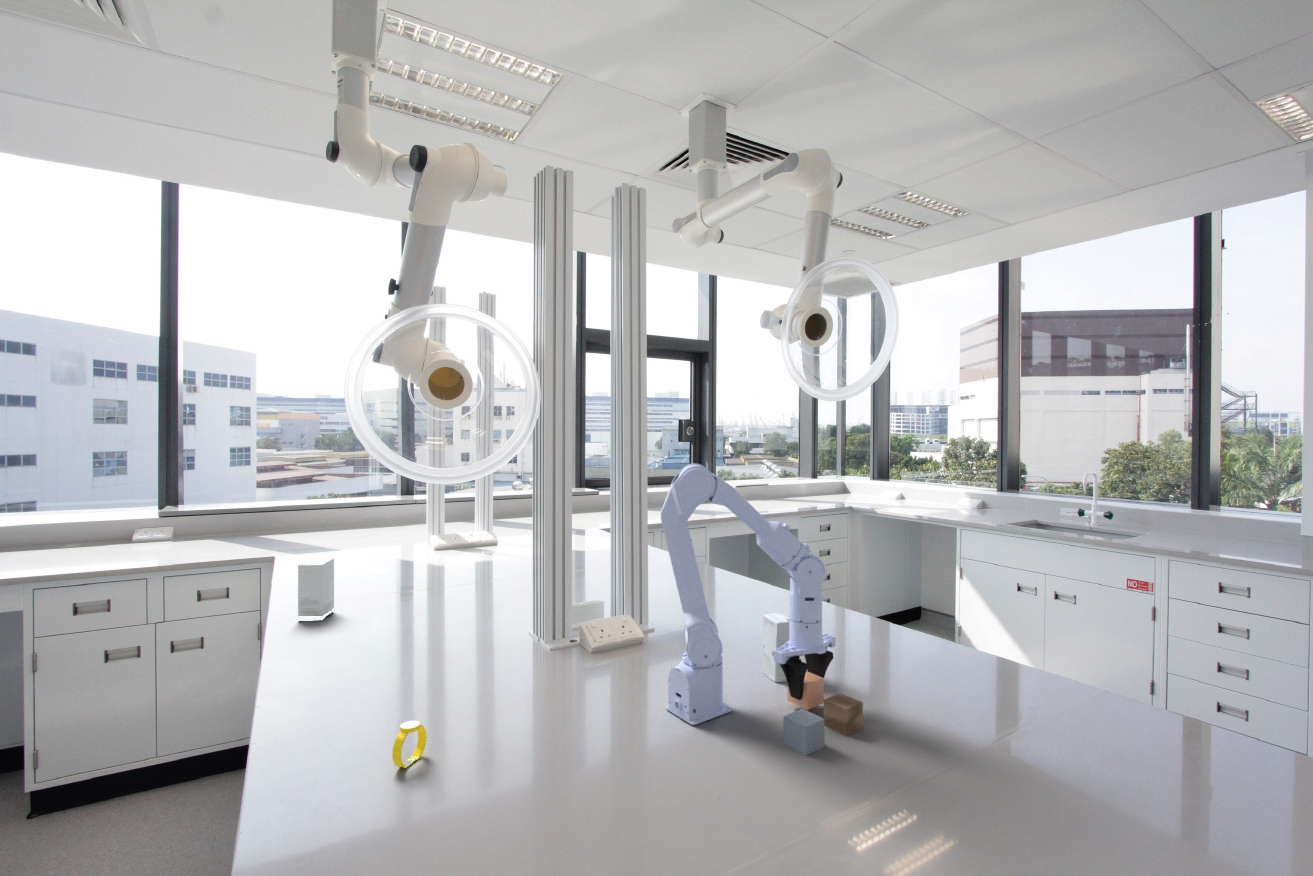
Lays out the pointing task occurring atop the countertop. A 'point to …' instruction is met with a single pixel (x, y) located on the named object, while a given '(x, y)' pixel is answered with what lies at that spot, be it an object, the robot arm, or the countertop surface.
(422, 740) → the watch
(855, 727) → the walnut block
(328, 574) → the skincare box
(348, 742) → the countertop surface
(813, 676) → the terracotta block
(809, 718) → the slate block
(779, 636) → the skincare box
